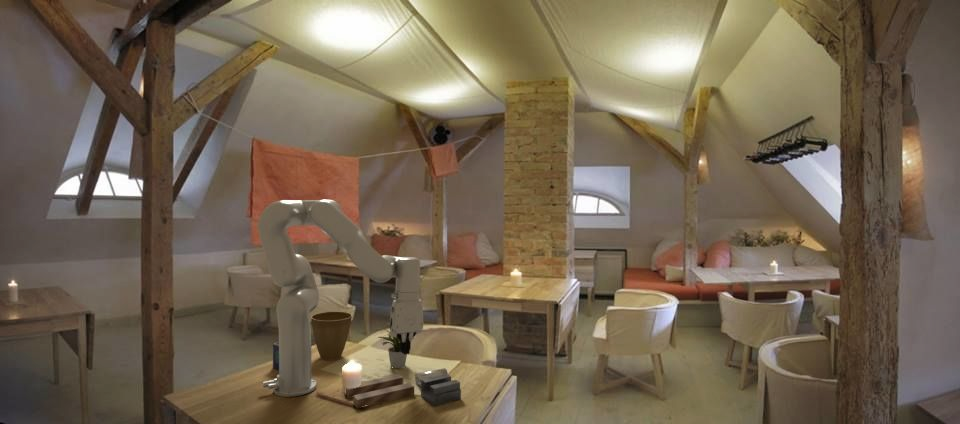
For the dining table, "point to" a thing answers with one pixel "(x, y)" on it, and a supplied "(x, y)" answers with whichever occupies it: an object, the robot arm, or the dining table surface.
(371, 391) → the parallel rectangular beams
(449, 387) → the v-block
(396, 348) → the house plant
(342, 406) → the dining table surface
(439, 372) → the axle
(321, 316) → the plant pot
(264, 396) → the dining table surface
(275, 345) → the flask
